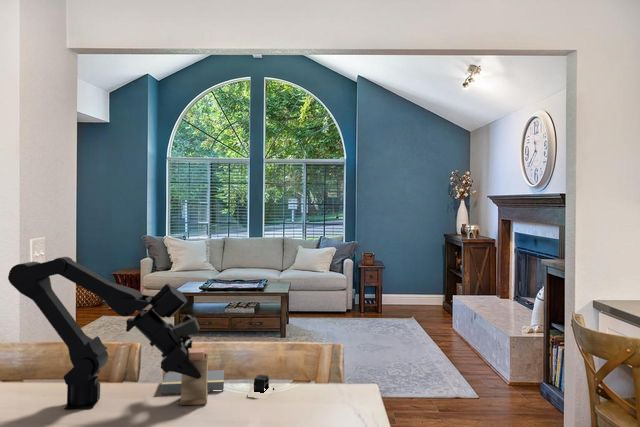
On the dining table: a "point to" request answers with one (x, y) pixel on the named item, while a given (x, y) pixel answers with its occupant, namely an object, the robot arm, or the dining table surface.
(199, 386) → the open wooden bin
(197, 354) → the block
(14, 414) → the dining table surface
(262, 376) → the black slotted stand
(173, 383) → the dock
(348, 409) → the dining table surface
